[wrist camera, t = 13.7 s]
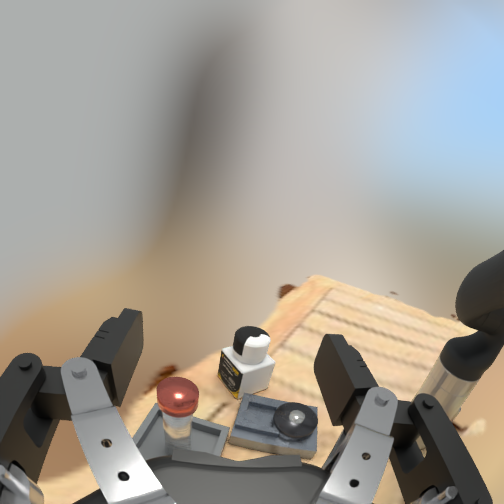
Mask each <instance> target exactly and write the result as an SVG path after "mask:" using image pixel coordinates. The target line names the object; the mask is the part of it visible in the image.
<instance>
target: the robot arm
mask: <svg viewBox="0 0 504 504" xmlns="http://www.w3.org/2000/svg"><path fill="white" fill-rule="evenodd" d="M455 307H456V313H457V316H458V318H459V320H460V321H461V322H462V323H463V324H464V325H466V326H468V327H470V328H473V329H476V330H479V331H477V332H476V333H474V334H472V335H469V336H464V337H456V338H452V339H450V340H449V341H448V342H447V343H446V344H445V346H444V348H443V350H442V352H441V354H440V355H439V357H438V359H437V361H436V363H435V364H434V366H433V368H432V370H431V371H430V373H429V375H428V376H427V378H426V380H425V381H424V383H423V385H422V386H421V388H420V389H419V391H418V392H417V394H416V395H415V397H414V398H413V400H412V401H411V402H409V401H401V400H397V397H396V396H395V394H394V393H393V392H391V391H390V390H388V389H386V388H383V387H379V386H378V384H377V383H376V381H375V379H374V377H373V375H372V374H371V372H370V370H369V369H368V367H367V365H366V363H365V362H364V361H363V358H362V357H361V355H360V353H359V352H358V351H357V350H356V349H355V348H354V347H352V346H351V345H348V344H347V342H346V340H345V338H344V337H343V335H339V334H325V336H324V337H323V340H322V342H321V345H320V348H319V350H318V353H317V356H316V358H315V362H314V373H315V376H316V379H317V382H318V385H319V387H320V390H321V393H322V396H323V399H324V402H325V405H326V408H327V411H328V413H329V416H330V419H331V422H332V425H333V426H340V425H343V427H344V430H343V431H342V433H341V434H340V436H339V438H338V440H337V442H336V444H335V446H334V448H333V449H332V451H331V453H330V455H329V457H328V458H327V460H326V462H325V463H324V465H323V466H322V468H320V467H317V466H314V465H311V464H307V463H303V462H301V458H300V454H299V455H270V456H265V457H261V458H256V459H250V460H245V461H234V460H231V459H227V458H223V457H220V456H216V455H213V454H210V453H207V452H200V451H192V450H185V449H179V448H173V454H172V455H167V456H159V457H155V458H151V459H148V460H146V461H145V460H144V458H143V457H142V455H141V453H140V452H139V450H138V448H137V447H136V445H135V443H134V441H133V440H132V438H131V436H130V434H129V432H128V430H127V429H126V427H125V425H124V423H123V421H122V419H121V417H120V415H119V413H118V411H117V409H116V407H115V406H119V407H120V406H121V404H122V401H123V398H124V396H125V393H126V391H127V388H128V385H129V383H130V380H131V378H132V375H133V373H134V370H135V368H136V365H137V363H138V361H139V358H140V356H141V353H142V349H143V318H142V312H141V311H137V310H132V309H127V308H125V309H124V310H123V311H122V313H121V314H120V316H119V317H118V318H115V317H111V318H110V319H108V320H106V321H105V322H104V323H103V324H102V325H101V327H100V328H99V331H97V333H96V334H95V336H94V337H93V338H92V340H91V341H90V343H89V344H88V346H87V347H86V349H85V350H84V352H83V353H82V355H81V356H80V357H77V358H72V359H69V360H68V361H66V362H65V363H64V364H63V365H62V367H52V366H43V365H42V362H41V360H40V358H39V357H38V356H36V355H35V354H32V353H23V354H20V355H18V356H17V357H15V358H14V359H13V360H12V362H11V363H10V364H9V366H8V367H7V369H6V370H5V371H4V373H3V374H2V376H1V377H0V504H44V496H43V493H42V491H41V489H40V488H39V486H38V485H37V481H38V478H39V475H40V472H41V469H42V466H43V463H44V460H45V457H46V454H47V452H48V449H49V446H50V443H51V441H52V438H53V436H54V433H55V431H56V428H57V426H58V423H59V421H60V420H69V421H73V424H74V427H75V430H76V433H77V436H78V438H79V441H80V444H81V446H82V449H83V451H84V454H85V456H86V459H87V461H88V464H89V466H90V468H91V470H92V472H93V475H94V477H95V479H96V481H97V483H98V485H99V487H100V489H98V490H96V491H94V492H93V493H91V494H89V495H87V496H86V497H84V498H82V499H80V500H78V501H76V502H75V503H73V504H373V503H372V501H373V499H374V496H375V494H376V491H377V489H378V486H379V484H380V481H381V478H382V475H383V473H384V470H385V467H386V464H387V461H388V458H389V459H390V461H391V464H392V467H393V470H394V472H395V475H396V478H397V481H398V484H399V487H400V490H401V492H402V495H403V498H404V501H405V504H493V502H492V498H491V496H490V493H489V491H488V490H487V487H486V485H485V483H484V481H483V479H482V477H481V475H480V473H479V471H478V469H477V467H476V465H475V463H474V461H473V459H472V458H471V456H470V454H469V452H468V450H467V449H466V447H465V445H464V443H463V441H462V440H461V438H460V436H459V434H458V433H457V431H456V429H455V427H454V426H453V424H452V421H453V420H454V419H455V417H456V416H457V415H458V414H459V412H460V410H461V406H462V404H463V403H464V401H465V400H466V399H467V397H468V396H469V394H470V393H471V391H472V390H473V388H474V387H475V385H476V384H477V382H478V381H479V379H480V378H481V376H482V374H483V373H484V372H485V371H486V370H487V369H488V368H489V367H490V366H491V365H492V363H493V362H494V360H495V359H496V357H497V355H498V354H499V352H500V350H501V349H502V347H503V345H504V250H503V251H502V252H500V253H499V254H497V255H495V256H493V257H491V258H490V259H488V260H486V261H484V262H482V263H481V264H479V265H477V266H476V267H474V268H473V269H472V270H471V271H470V272H469V273H468V275H467V276H466V278H465V279H464V280H463V282H462V284H461V286H460V288H459V290H458V293H457V297H456V305H455ZM114 405H115V406H114ZM424 448H426V450H427V453H426V457H425V458H424V457H423V455H422V452H421V449H424Z"/></svg>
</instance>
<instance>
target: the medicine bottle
mask: <svg viewBox="0 0 504 504" xmlns="http://www.w3.org/2000/svg"><path fill="white" fill-rule="evenodd" d="M269 344H270V336H269V335H268V333H267V332H265V331H264V330H262V329H260V328H257V327H253V326H245V327H241V328H240V329H238V330H237V331H236V332H235V337H234V343H233V346H231V347H226V348H223V349H222V351H221V357H220V364H219V370H218V377H219V378H220V379H221V380H222V382H223V383H224V384H225V386H226V387H227V388H228V389H229V391H230V392H231V393H232V394H233V396H234V397H235V398H236V399H239V398H242V397H243V395H244V392H245V393H249V394H253V393H256V392H259V391H262V390H264V389H267V388H268V385H269V382H270V378H271V375H272V372H273V369H274V365H275V361H274V360H273V359H272V358H271V357H270V356H269V355H268V354H267V351H268V347H269Z"/></svg>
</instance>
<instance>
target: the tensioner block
mask: <svg viewBox="0 0 504 504" xmlns="http://www.w3.org/2000/svg"><path fill="white" fill-rule="evenodd" d="M317 424H318V418H317V407H313V406H307V405H304V404H301V403H295V402H285V401H280V400H275V399H270V398H266V397H261V396H257V395H253V394H249V393H245V392H244V395H243V398H242V401H241V405H240V408H239V411H238V414H237V417H236V420H235V424H234V427H233V430H232V433H231V436H230V440H229V444H232V445H236V446H240V447H245V448H249V449H253V450H258V451H263V452H268V453H273V454H279V455H299V454H300V458H307V459H312V457H313V456H314V454H315V453H316V452H317Z"/></svg>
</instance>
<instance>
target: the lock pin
mask: <svg viewBox="0 0 504 504" xmlns="http://www.w3.org/2000/svg"><path fill="white" fill-rule="evenodd" d="M198 398H199V391H198V388H197V386H196V385H195V384H194V383H193V382H191V381H190V380H188V379H185V378H182V377H169V378H166V379H164V380H162V381H161V382H160V383H159V384H158V386H157V403H158V406H159V408H160V409H161V410H162V413H163V427H164V439H165V449H166V453H167V455H172V454H173V448H179V449H185V450H191V434H192V418H193V413H194V412H195V411H196V409H197V407H198Z"/></svg>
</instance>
